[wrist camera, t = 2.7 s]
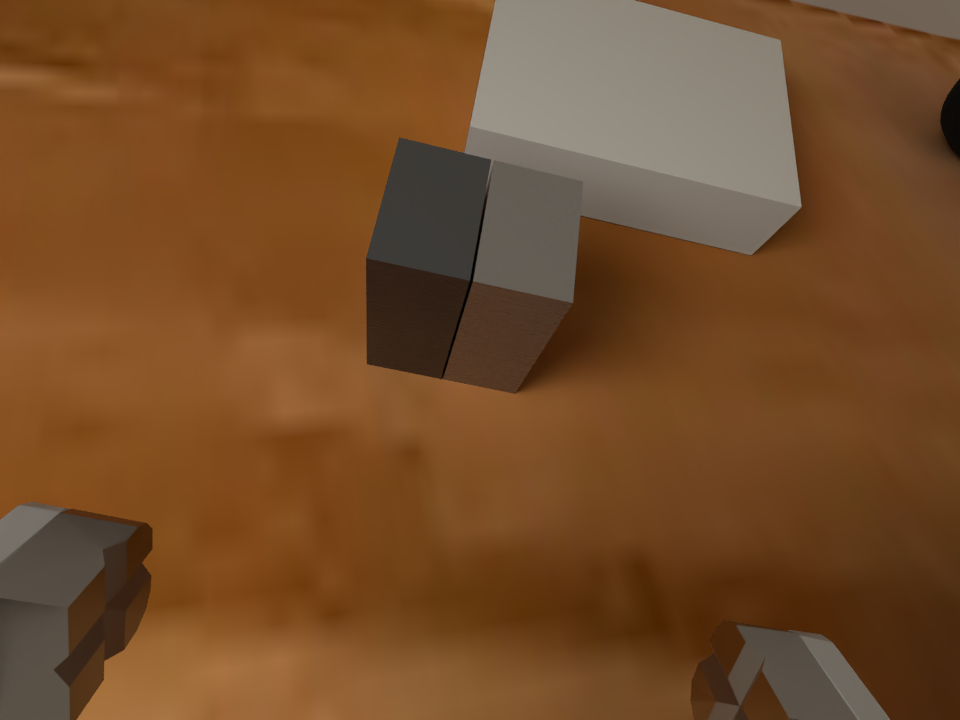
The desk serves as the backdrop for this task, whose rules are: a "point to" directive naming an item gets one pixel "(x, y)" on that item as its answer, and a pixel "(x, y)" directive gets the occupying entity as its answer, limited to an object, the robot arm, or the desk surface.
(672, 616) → the desk surface
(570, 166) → the stand
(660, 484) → the desk surface
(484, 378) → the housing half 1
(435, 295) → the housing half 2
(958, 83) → the controller
